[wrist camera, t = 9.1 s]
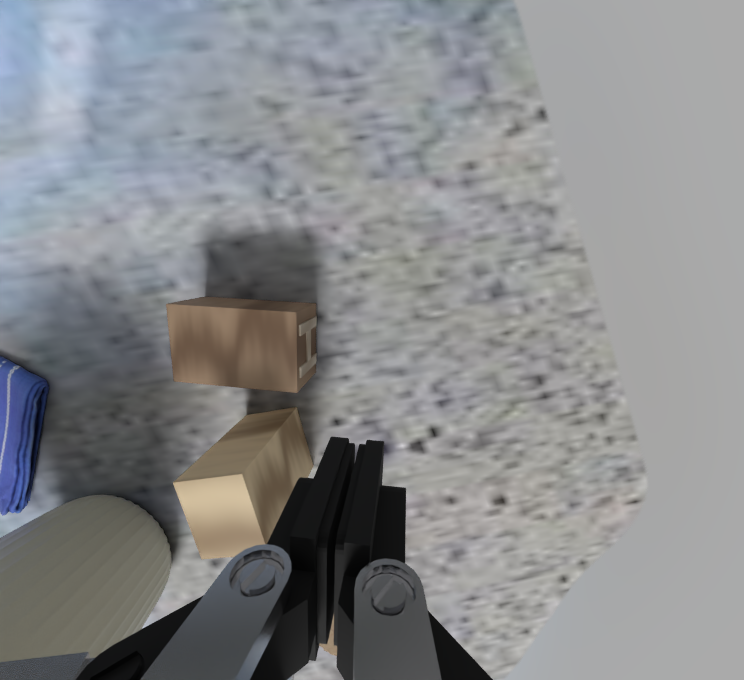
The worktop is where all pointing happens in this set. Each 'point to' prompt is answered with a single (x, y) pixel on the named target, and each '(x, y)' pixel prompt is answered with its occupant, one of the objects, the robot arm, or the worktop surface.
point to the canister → (80, 578)
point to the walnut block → (243, 342)
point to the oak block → (244, 482)
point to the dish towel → (19, 432)
